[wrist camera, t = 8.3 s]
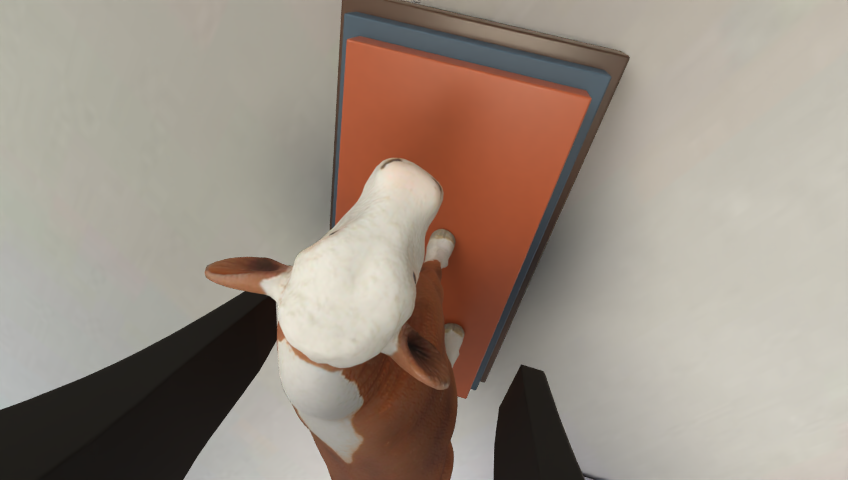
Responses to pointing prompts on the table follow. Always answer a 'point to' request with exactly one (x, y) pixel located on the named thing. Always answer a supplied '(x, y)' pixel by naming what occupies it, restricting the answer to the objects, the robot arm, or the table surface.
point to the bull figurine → (368, 331)
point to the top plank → (461, 165)
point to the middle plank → (495, 58)
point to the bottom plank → (389, 5)
